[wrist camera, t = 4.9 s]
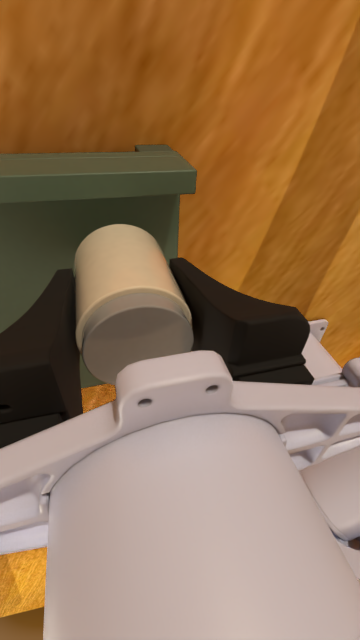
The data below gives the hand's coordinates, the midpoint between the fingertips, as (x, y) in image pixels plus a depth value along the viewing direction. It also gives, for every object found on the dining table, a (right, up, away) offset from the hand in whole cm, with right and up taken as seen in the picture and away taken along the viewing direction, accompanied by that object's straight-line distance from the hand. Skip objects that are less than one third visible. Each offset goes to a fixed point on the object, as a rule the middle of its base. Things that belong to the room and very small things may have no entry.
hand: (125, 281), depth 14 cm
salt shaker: (0, +1, +1) cm, 1 cm away
